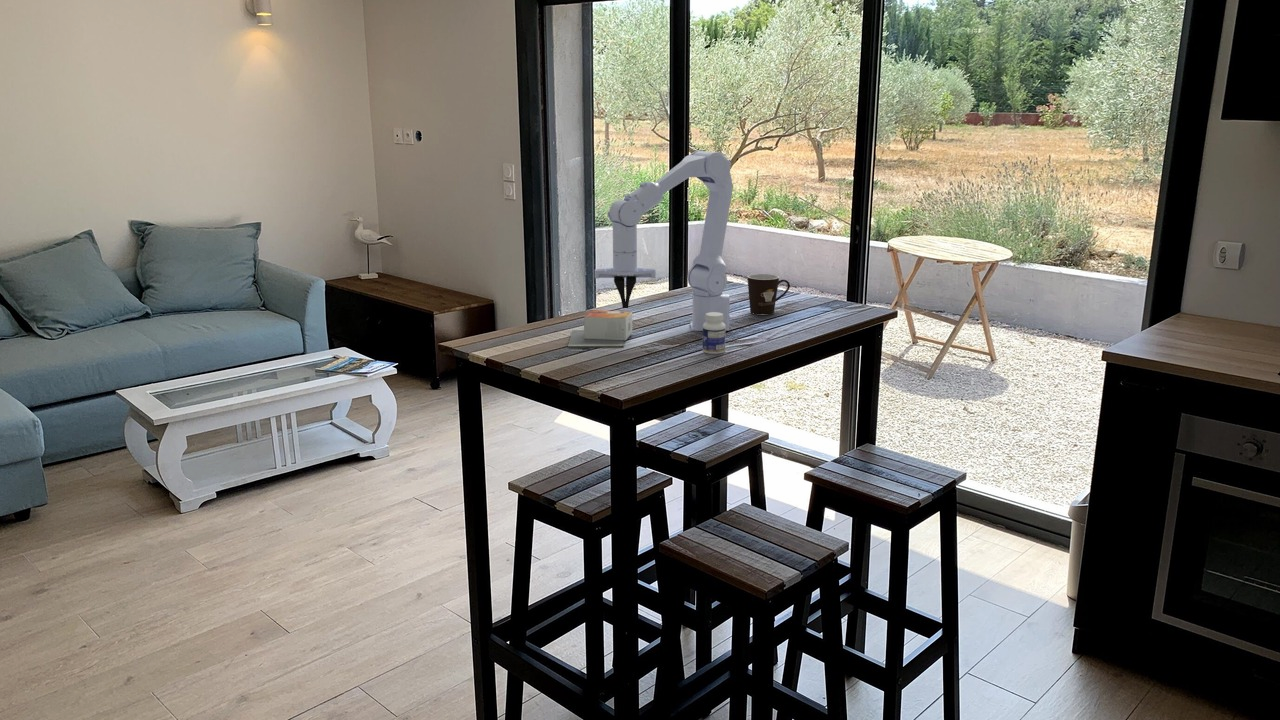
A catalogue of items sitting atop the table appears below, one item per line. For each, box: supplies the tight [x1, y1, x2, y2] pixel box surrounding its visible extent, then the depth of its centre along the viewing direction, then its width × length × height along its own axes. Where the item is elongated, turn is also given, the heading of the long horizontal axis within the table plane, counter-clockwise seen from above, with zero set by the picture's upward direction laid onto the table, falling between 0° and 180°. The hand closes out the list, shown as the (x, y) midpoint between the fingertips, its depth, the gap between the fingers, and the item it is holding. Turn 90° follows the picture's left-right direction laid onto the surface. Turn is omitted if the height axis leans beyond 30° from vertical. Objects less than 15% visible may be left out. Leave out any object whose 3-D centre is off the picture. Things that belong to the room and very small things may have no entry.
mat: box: [567, 329, 625, 349], centre depth 225 cm, size 13×16×1 cm
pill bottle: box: [702, 312, 726, 355], centre depth 213 cm, size 5×5×9 cm
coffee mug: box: [746, 273, 791, 315], centre depth 251 cm, size 12×9×10 cm
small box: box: [583, 309, 633, 341], centre depth 226 cm, size 8×6×10 cm
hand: (625, 307), depth 223 cm, fingers closed
